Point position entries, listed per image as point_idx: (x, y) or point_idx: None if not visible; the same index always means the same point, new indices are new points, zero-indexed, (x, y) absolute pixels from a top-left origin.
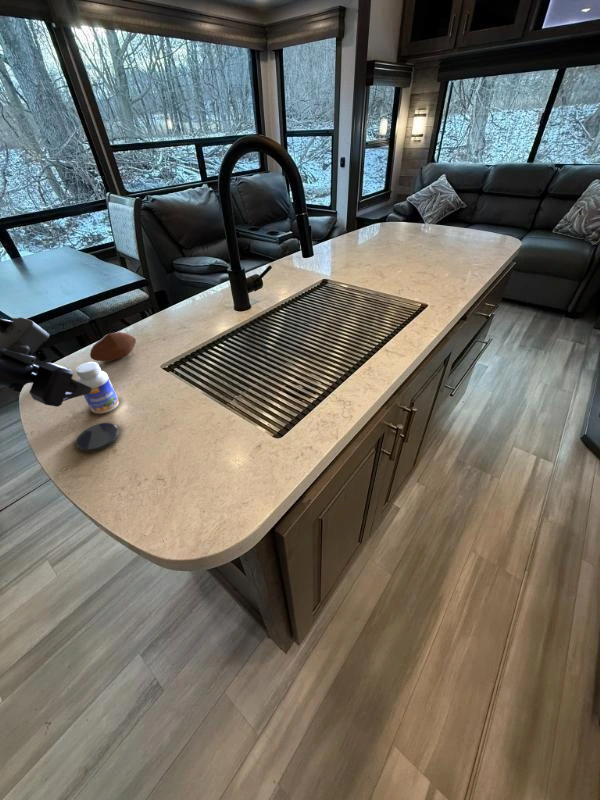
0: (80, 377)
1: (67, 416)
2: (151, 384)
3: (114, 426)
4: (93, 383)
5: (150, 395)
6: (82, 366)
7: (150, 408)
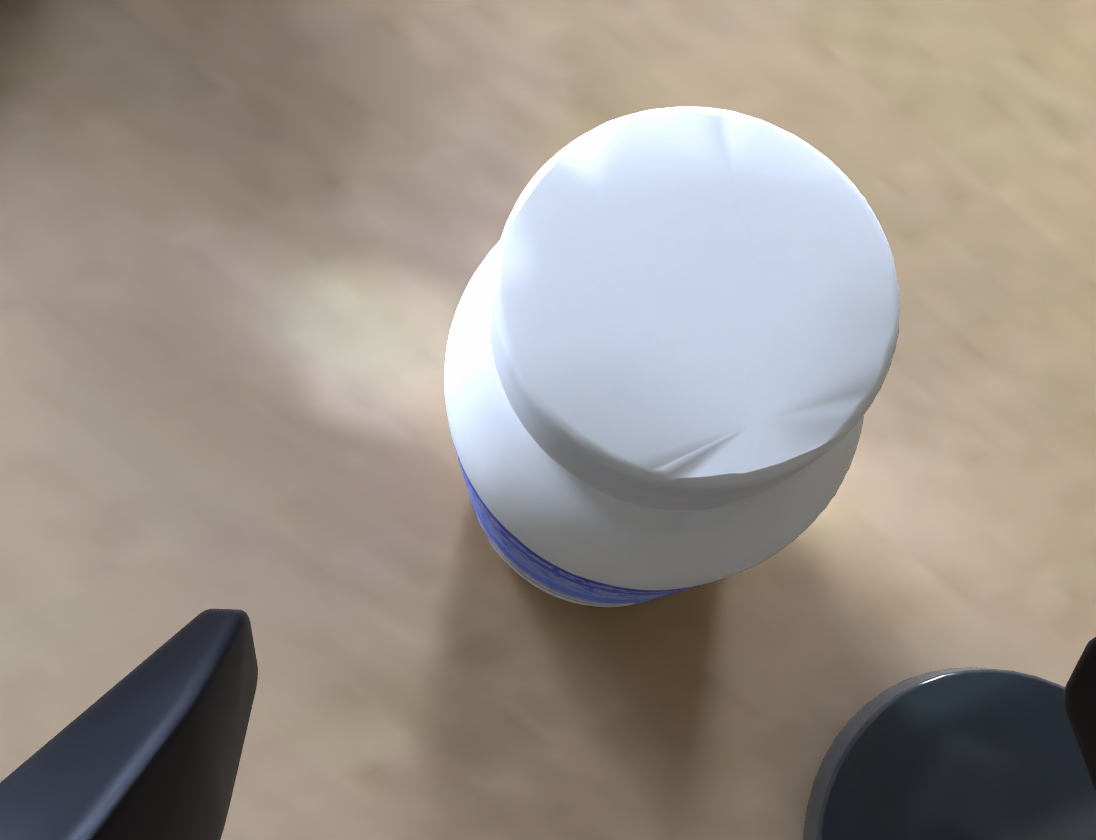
0: (687, 508)
1: (374, 770)
2: (719, 48)
3: (1039, 690)
4: (837, 468)
5: (855, 176)
6: (603, 307)
7: (1021, 319)
